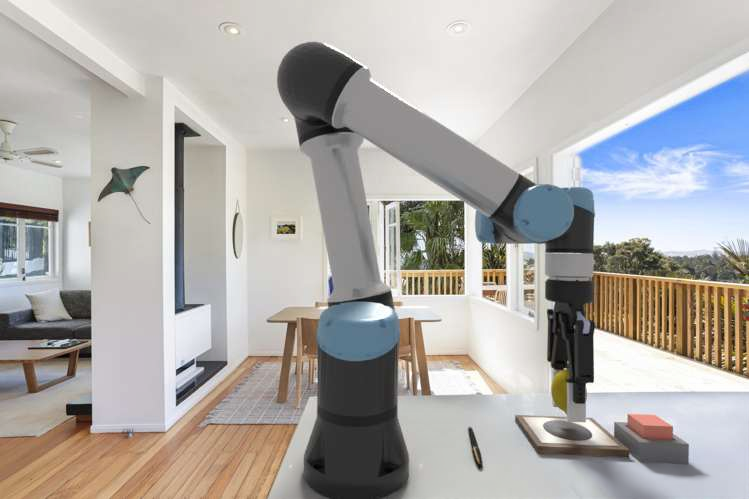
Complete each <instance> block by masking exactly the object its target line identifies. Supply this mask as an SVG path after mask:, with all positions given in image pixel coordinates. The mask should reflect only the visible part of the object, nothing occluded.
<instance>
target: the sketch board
mask: <svg viewBox="0 0 749 499" xmlns="http://www.w3.org/2000/svg"><path fill="white" fill-rule="evenodd" d="M514 417H515V418H514V422H515V423H516V424H517V426H518V427H519V429H520V431H521V432H522V433H523V435H524V436H525V438H526V439H527V440H528V442H529V443H530V445H531V446H532V448H533V449H534V451H535V452H536V453H537V454H539V455H560V456H580V457H581V456H583V457H605V458H606V457H607V458H608V457H609V458H626V459H627V458H628V459H629V458H630V453H629V449H628V448H626V447H625V446H624V445H623V444H622V443H621V442H619V441H618V440H617V439H616V438H615V437H614V435H613V434H611V433H610V432H609V431H608V430H606V428H605V427H603V426H602V425H601V424H600V423H599V422H598V421H596V419H594V418H593V417H586V422H568V421H567V416H551V415H547V416H546V415H525V414H524V415H522V414H515V416H514Z"/></svg>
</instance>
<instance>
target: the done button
mask: <svg viewBox="0 0 749 499" xmlns="http://www.w3.org/2000/svg"><path fill="white" fill-rule="evenodd" d="M626 422H627V427H628V428H629V429H630V430H632V431H633V432H634V433H636V434H637V435H638V436H640V437H641V438H642V439H656V440H673V434H674V426H673V425H672V424H670V423H668V422H667V421H665V420H663V419H662V418H660V417H659V416H657V415H656V414H641V413H639V414H638V413H627V421H626Z"/></svg>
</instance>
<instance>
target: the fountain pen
mask: <svg viewBox="0 0 749 499" xmlns="http://www.w3.org/2000/svg"><path fill="white" fill-rule="evenodd" d="M467 431H468V437H469V442H470V447H471V453H472V457H473V460H474V461H475V464H476V466H477V468H479V469H482V468H483V459H482V458H483V457H482V453H481V449H480V447H479V444H478V441H477V438H476V434H475V432H474V429H473V428H472V426H470V425H469V426H467Z"/></svg>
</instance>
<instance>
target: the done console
mask: <svg viewBox="0 0 749 499" xmlns="http://www.w3.org/2000/svg"><path fill="white" fill-rule="evenodd" d="M627 422H628V421H626V422H624V421H623V422H622V421H614V422H613V423H614V424H613V436H614V437H615V438H616V439H617V440H618V441H619V442H621V443H622V444H623V445H624V446H625V447H626V448H628V449H629V455H631V456H632V457H633V458H635V459H636V460H637V461H638V462H639V463H658V464H659V463H660V464H661V463H665V464H685V465H686V464H687V465H688V464H689V463H690V462H689V459H690V458H689V454H690V448H689V447H690V446H689V445H690V444H689V443H688V442H686V440H684V439H683V438H680V437H679V436H677V435H676V434H674V433H673V440H656V439H642V438H641V437H640V436H638V435H637V434H636V433H634V432H633V431H632V430H630V429H629V428H628V427H627Z"/></svg>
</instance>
